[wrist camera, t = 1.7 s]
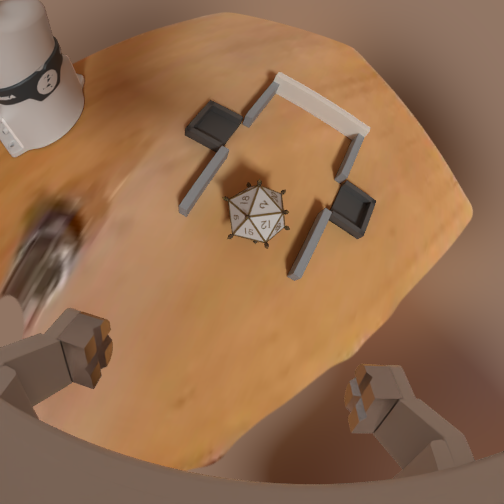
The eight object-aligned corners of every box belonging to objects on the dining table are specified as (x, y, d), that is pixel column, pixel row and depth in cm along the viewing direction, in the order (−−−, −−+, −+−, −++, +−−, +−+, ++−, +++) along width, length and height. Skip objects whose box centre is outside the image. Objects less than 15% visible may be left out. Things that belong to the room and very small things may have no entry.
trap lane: (142, 190, 41) (138, 178, 37) (243, 70, 49) (247, 55, 45) (330, 302, 43) (343, 299, 39) (386, 158, 52) (398, 148, 48)
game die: (238, 219, 47) (239, 159, 40) (292, 232, 45) (302, 171, 38) (213, 256, 40) (210, 189, 34) (276, 273, 38) (285, 205, 32)
